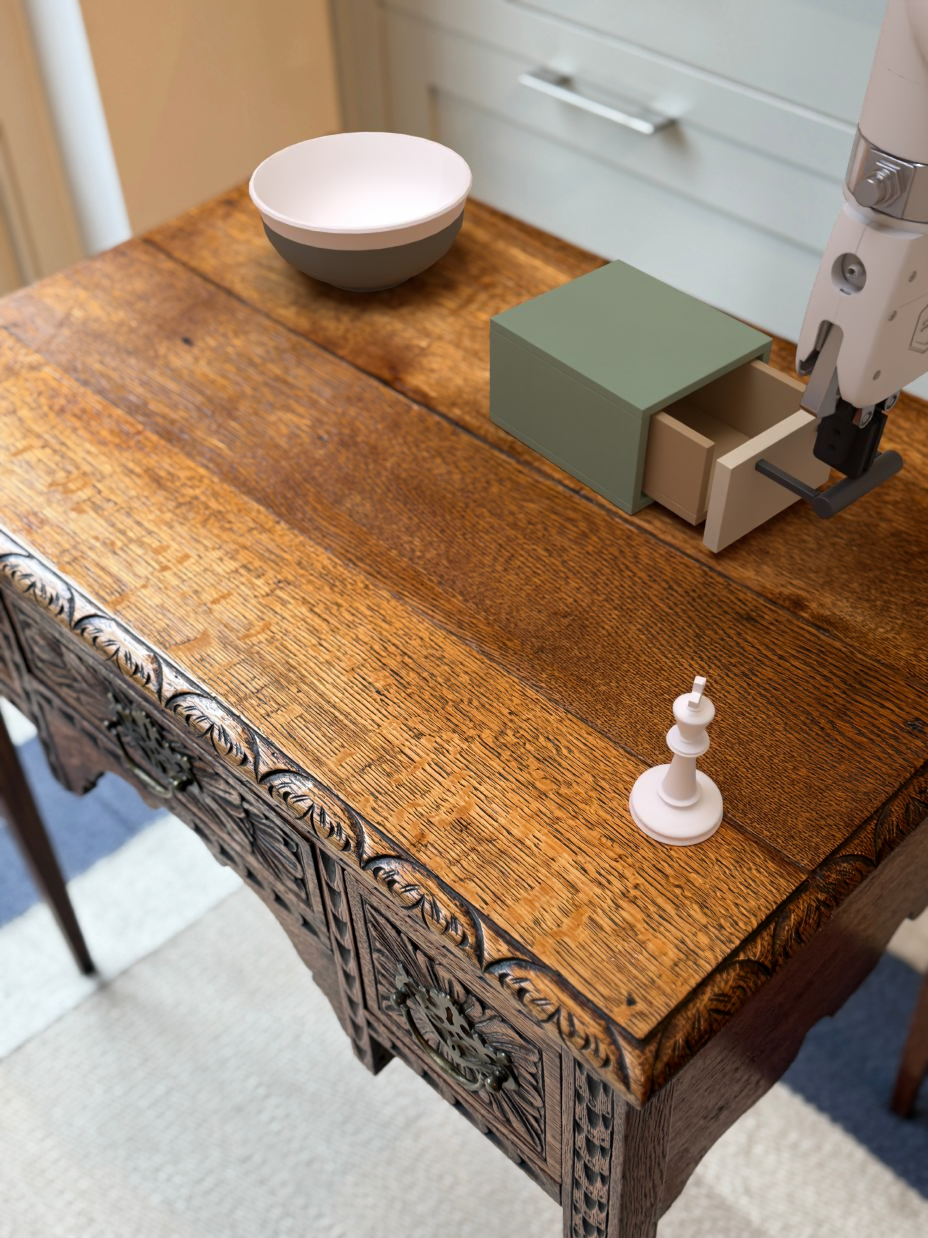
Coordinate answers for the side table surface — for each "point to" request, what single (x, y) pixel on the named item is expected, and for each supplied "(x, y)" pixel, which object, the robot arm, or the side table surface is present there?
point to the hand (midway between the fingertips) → (841, 461)
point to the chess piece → (680, 780)
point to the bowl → (362, 206)
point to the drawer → (745, 455)
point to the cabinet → (607, 371)
